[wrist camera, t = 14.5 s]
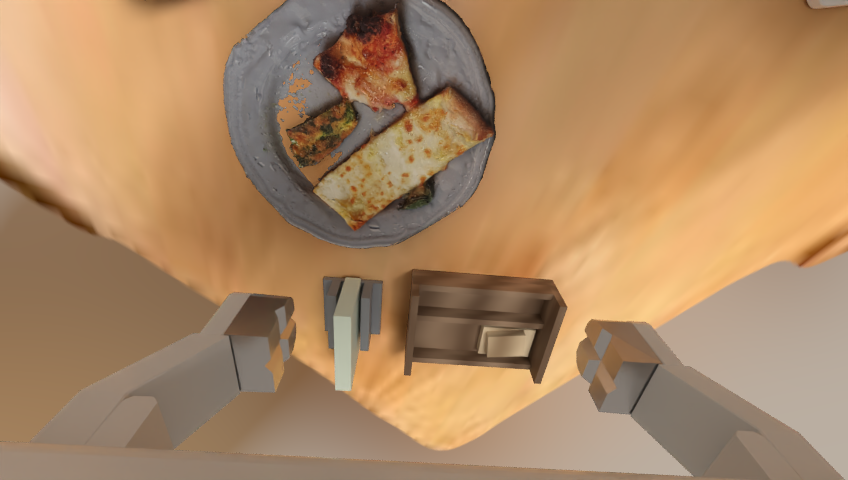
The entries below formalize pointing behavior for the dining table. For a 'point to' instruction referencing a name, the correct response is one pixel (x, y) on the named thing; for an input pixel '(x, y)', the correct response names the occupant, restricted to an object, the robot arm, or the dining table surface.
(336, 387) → the board
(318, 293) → the dining table surface
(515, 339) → the offcut upper
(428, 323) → the rack
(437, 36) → the food plate
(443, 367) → the dining table surface
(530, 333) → the offcut lower
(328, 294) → the stand
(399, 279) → the dining table surface
